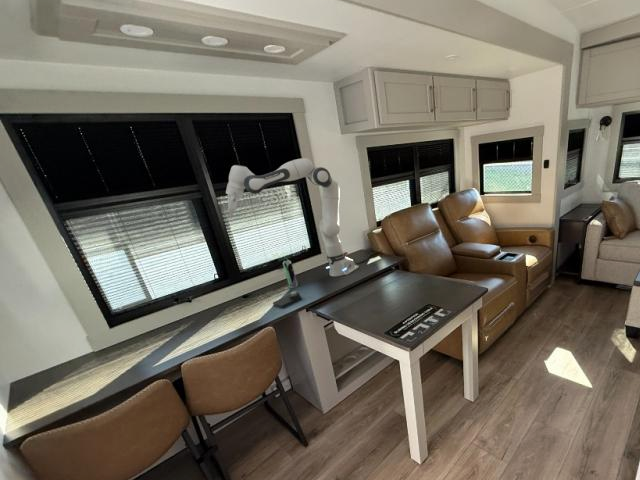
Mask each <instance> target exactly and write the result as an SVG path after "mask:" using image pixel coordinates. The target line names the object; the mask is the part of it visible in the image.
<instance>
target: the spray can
mask: <svg viewBox="0 0 640 480" xmlns="http://www.w3.org/2000/svg"><path fill="white" fill-rule="evenodd" d="M282 267H283V270H284V273H285V278H286V280H287V284H288V287H289V288H290V289H294V288H295V289H296V288H297V287H298V285H299V284H298V281H297V277H296V274H295V269H294V267H293V264H292V261H291V260H289V259H288V258H287V257H285V258H284V260H283V262H282Z"/></svg>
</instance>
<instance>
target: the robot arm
mask: <svg viewBox="0 0 640 480" xmlns="http://www.w3.org/2000/svg"><path fill="white" fill-rule="evenodd" d="M330 173H331V172H329V171H328V169H327V168H325V167H322V166H314V164H313V162H312V160H311V159H309V158H307V157H303V158H297V159H292V160H289V161H287V162H285V163H283V164H282V165H280V166H279V167H278V168H277V169H276V170H274V171H271V172H268V173H266V174H261V175H256V174H255V173H253V172H252V171H251V170H250V169H249V168H248V167H247V166H245V165H241V164H234V165H232V166H231V168H230V171H229V173H228V183H227V185H226V190H225V194H226V195H227V208H228V212H227V214H228V217H229V218H233V214H234V212H235V211H236V210H237V205H238V201H240V199H242V198H243V196H244V192H245V190H246V191H247V192H248V193H250V194H254V195H257V194H259V193H262V191H263V190H264V189H265V188H267V187H269V186H272V185H275V184H277V183H281V182H292V181H297V180H299V179H300V180H301V179H303V178H308V180H309V181H310V182H311V183H312V184H313V185H316V186H320V188H321V189H322V197H321V198H322V199H321V213H322V214H321V216H322V219H321V220H320V221H319V223H318V227H319V231H320V234H321V238H322V241H323V244H324V248H325V252H326V259H327V263H328V266H326V267H325V269H329V276H330V277H340V276H347V275H350V274H351V273H353V272H355V271H357V270H358V269H359V268H360V266H359V265H360V264H362V263H364V262H366V261H367V260H368V259H369V258H370V257H371V256H372V255H375V254H377V253H378V252H376V251H375V252H372V253H370V254H369V255H367V257H366V258H365V259H363V260H362V261H360V262H357V263H356V260H355V259H354V258H351V257H348V255H349V253H348V251H343V247H342V246H343V245H342V242H341V239H340V236H339V234H340V229H341V228H340V212H339V211H340V196H341V195H340V191H341V190H340V185H339V183H338V182H337V181H336V180H333V177H332V176H331V174H330Z"/></svg>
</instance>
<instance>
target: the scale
mask: <svg viewBox="0 0 640 480" xmlns="http://www.w3.org/2000/svg"><path fill="white" fill-rule="evenodd" d="M296 293H297V295H295V296H291V293H289V294H288V295H286V296H284V297H281V298H279V299H277V300H275V301H273V302H272V305H273V307H276V308H280V309H283V310H284V309H286V308H287V307H289V306H291V305H294V304H296V303H298V302H300V301H301V300H302V296H301V293H300V292H298V291H296Z"/></svg>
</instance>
